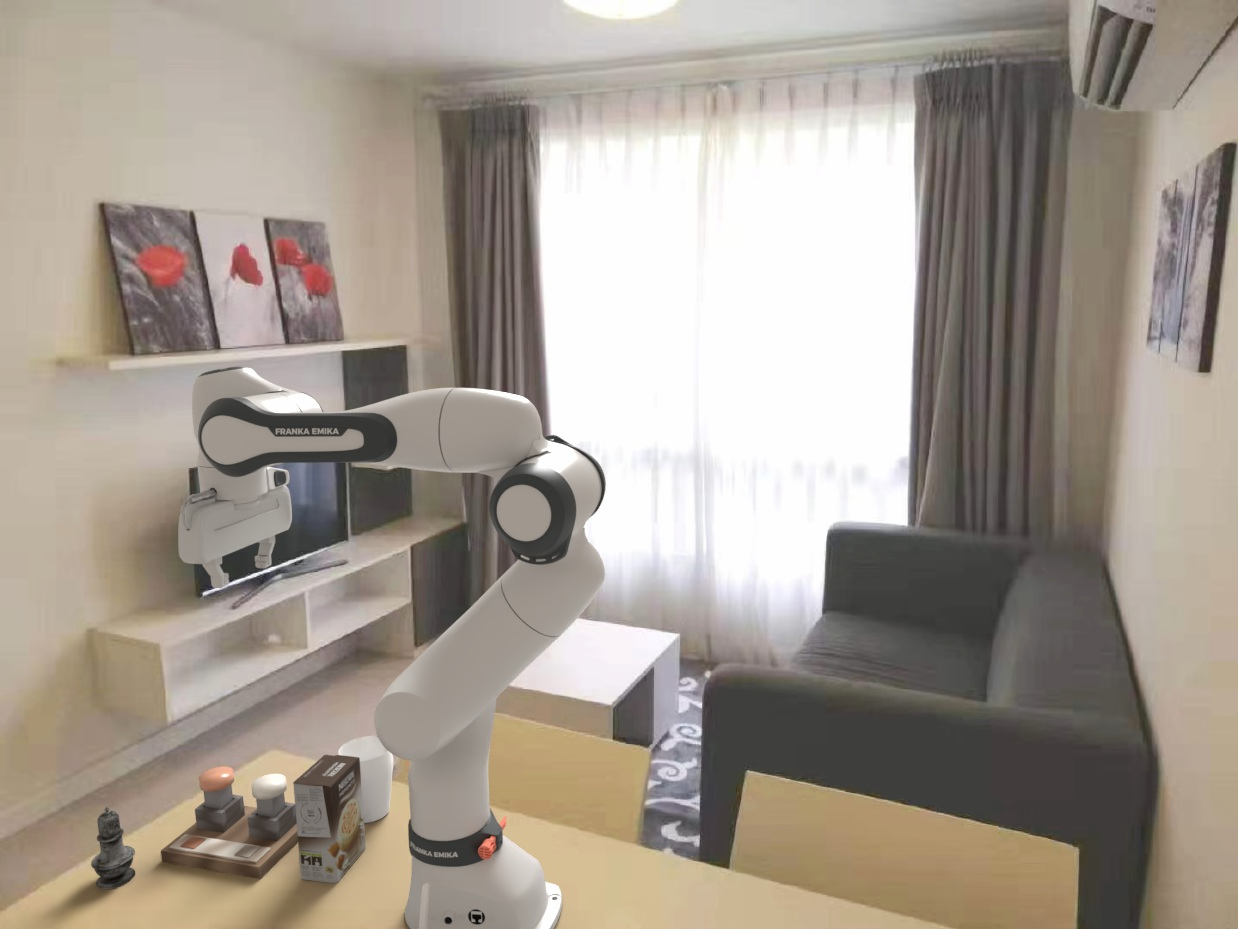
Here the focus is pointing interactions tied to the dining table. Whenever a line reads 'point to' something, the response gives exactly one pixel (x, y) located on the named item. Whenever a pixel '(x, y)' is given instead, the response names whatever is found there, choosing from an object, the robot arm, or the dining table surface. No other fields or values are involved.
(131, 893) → the dining table surface
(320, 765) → the coffee box
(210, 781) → the terracotta button
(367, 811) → the cup
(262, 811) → the white button
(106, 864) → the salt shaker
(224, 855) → the pattern board
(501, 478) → the robot arm
